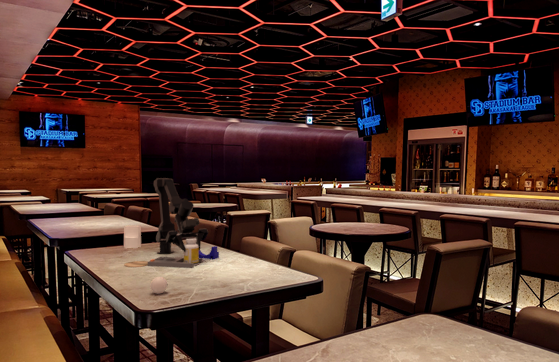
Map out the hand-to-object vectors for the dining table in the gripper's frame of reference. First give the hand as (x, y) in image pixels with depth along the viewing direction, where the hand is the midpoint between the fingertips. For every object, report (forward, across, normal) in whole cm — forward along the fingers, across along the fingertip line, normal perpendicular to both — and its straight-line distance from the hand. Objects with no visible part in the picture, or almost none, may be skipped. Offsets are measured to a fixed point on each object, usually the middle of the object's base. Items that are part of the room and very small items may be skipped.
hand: (192, 250), depth 178 cm
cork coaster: (-6, -20, +16) cm, 26 cm away
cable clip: (-4, +12, +14) cm, 19 cm away
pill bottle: (+4, 0, +6) cm, 7 cm away
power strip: (0, -5, +9) cm, 11 cm away
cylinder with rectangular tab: (-39, -9, +49) cm, 64 cm away
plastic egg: (+28, -26, -19) cm, 43 cm away
